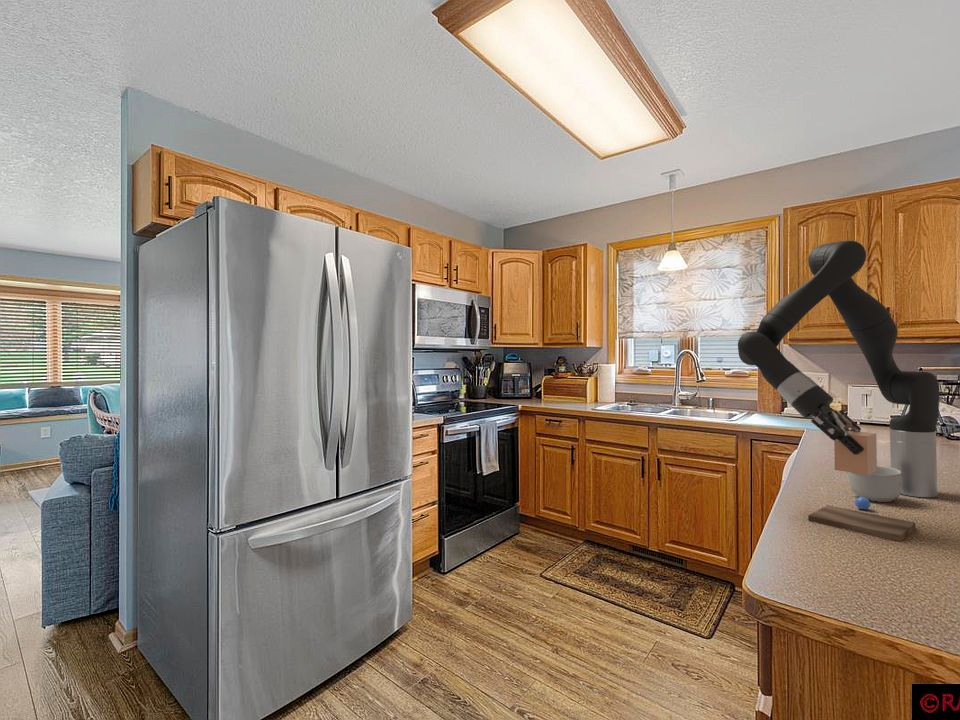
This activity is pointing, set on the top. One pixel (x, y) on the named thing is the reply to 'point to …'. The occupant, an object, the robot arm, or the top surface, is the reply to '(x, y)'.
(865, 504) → the marble
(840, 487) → the top surface
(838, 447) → the peach colored cube
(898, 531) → the board
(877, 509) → the top surface
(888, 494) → the teacup
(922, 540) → the top surface
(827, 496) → the top surface
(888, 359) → the robot arm
